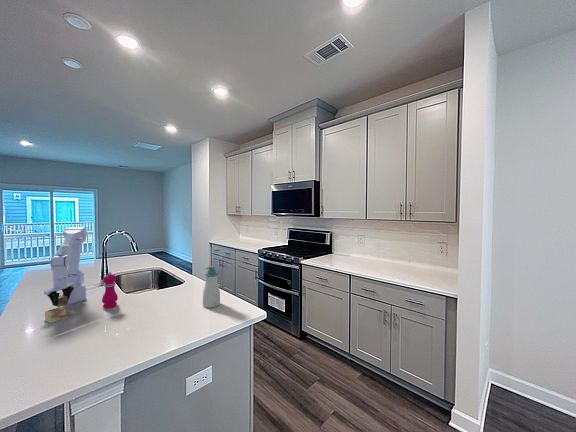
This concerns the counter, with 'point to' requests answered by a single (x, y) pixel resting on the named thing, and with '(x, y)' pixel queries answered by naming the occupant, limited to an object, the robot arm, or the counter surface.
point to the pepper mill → (109, 291)
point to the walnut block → (62, 300)
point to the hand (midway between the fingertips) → (60, 303)
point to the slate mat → (53, 321)
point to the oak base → (55, 314)
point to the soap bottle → (211, 289)
